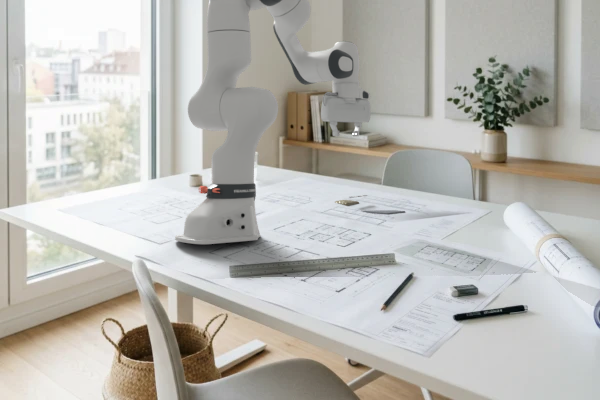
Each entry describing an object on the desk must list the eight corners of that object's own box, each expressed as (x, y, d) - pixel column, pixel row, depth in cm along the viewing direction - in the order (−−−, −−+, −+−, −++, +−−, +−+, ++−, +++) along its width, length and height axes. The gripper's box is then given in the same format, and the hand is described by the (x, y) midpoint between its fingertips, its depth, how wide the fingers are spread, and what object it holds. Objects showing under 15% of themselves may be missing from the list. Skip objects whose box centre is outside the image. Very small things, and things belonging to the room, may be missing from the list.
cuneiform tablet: (352, 197, 191) (326, 196, 200) (352, 211, 192) (326, 209, 201) (367, 195, 196) (341, 194, 205) (367, 209, 196) (341, 207, 205)
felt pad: (386, 214, 181) (386, 213, 181) (360, 212, 188) (360, 210, 188) (405, 212, 187) (405, 211, 187) (379, 210, 194) (379, 208, 194)
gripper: (330, 90, 186) (330, 135, 187) (373, 94, 200) (373, 136, 201) (316, 92, 191) (316, 136, 192) (359, 95, 204) (359, 136, 206)
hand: (346, 136), depth 196 cm, fingers open, 8 cm apart
